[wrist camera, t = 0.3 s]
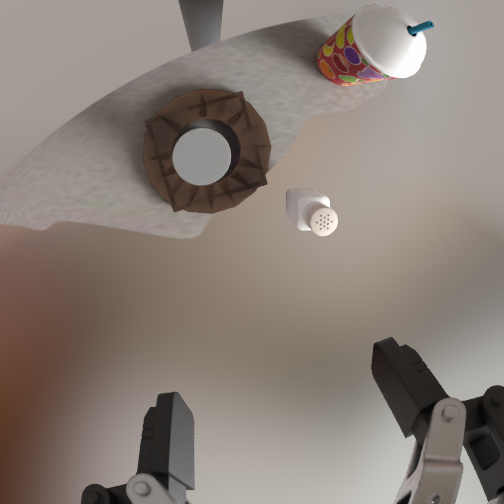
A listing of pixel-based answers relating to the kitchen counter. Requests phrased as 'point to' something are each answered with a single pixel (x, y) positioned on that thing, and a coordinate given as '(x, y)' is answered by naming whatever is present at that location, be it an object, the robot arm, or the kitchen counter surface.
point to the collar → (233, 183)
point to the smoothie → (374, 47)
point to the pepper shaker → (310, 211)
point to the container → (201, 156)
